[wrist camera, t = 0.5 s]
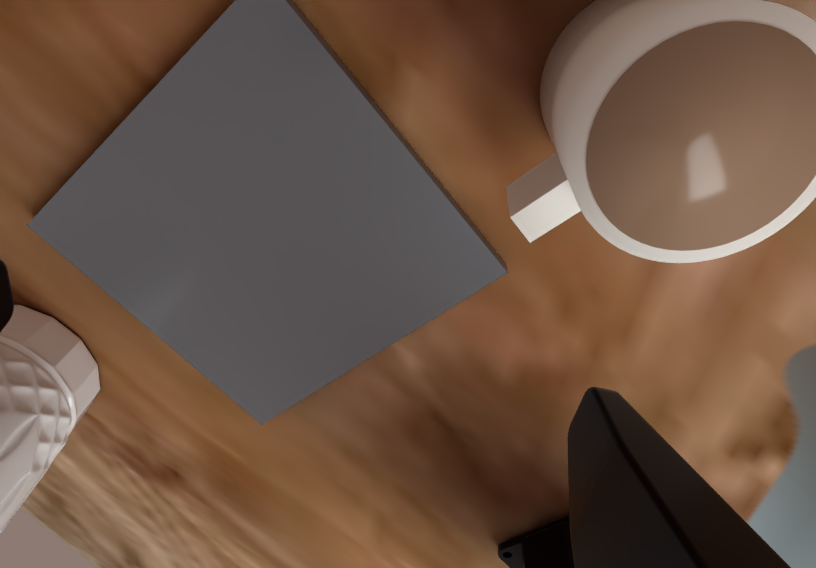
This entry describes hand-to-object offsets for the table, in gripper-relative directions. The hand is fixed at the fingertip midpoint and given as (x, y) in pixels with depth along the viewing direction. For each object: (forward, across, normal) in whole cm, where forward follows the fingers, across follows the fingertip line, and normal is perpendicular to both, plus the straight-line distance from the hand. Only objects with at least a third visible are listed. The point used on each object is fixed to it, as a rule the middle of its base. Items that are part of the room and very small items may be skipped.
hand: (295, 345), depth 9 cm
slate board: (+13, +4, +6) cm, 15 cm away
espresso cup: (+13, -7, -3) cm, 15 cm away
